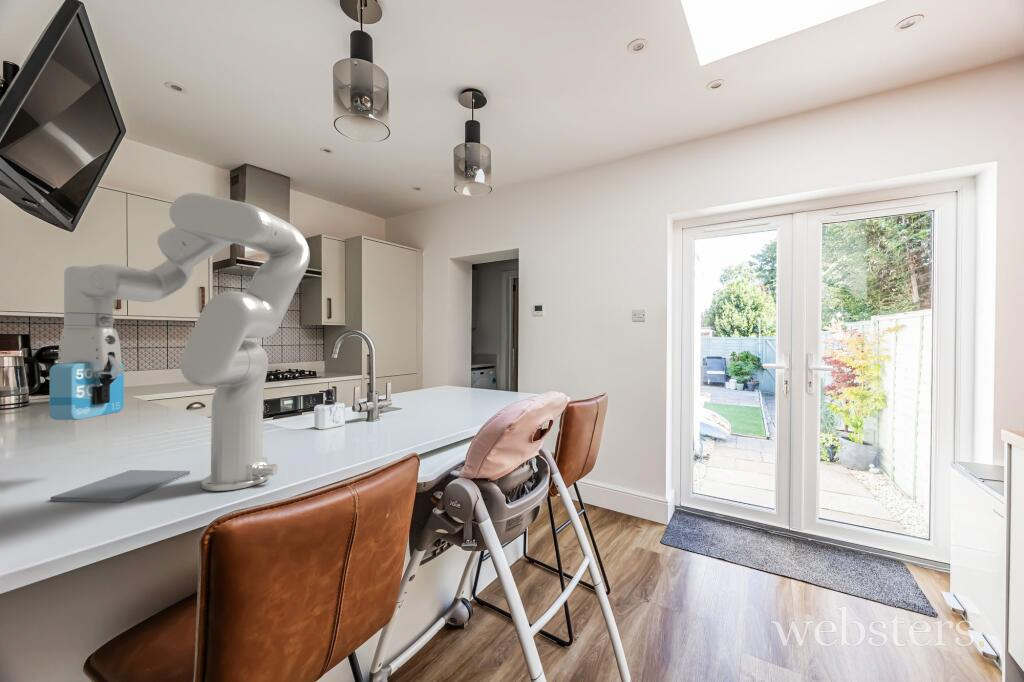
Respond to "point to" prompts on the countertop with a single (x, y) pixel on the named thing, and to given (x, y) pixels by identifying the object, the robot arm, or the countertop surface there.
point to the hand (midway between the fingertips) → (89, 402)
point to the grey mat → (121, 486)
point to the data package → (80, 393)
